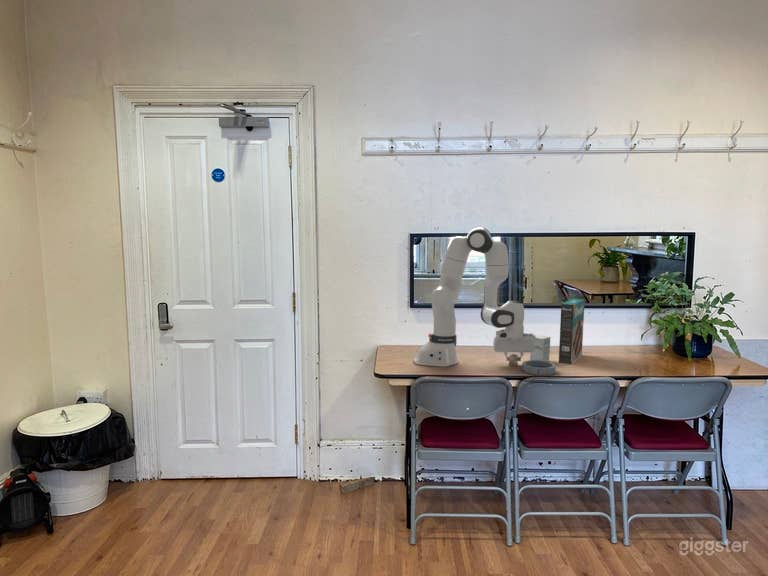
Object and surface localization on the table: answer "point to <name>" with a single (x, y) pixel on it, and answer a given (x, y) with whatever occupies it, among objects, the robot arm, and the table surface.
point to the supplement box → (541, 348)
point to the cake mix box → (571, 330)
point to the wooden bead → (513, 359)
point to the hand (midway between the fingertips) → (513, 360)
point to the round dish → (539, 367)
